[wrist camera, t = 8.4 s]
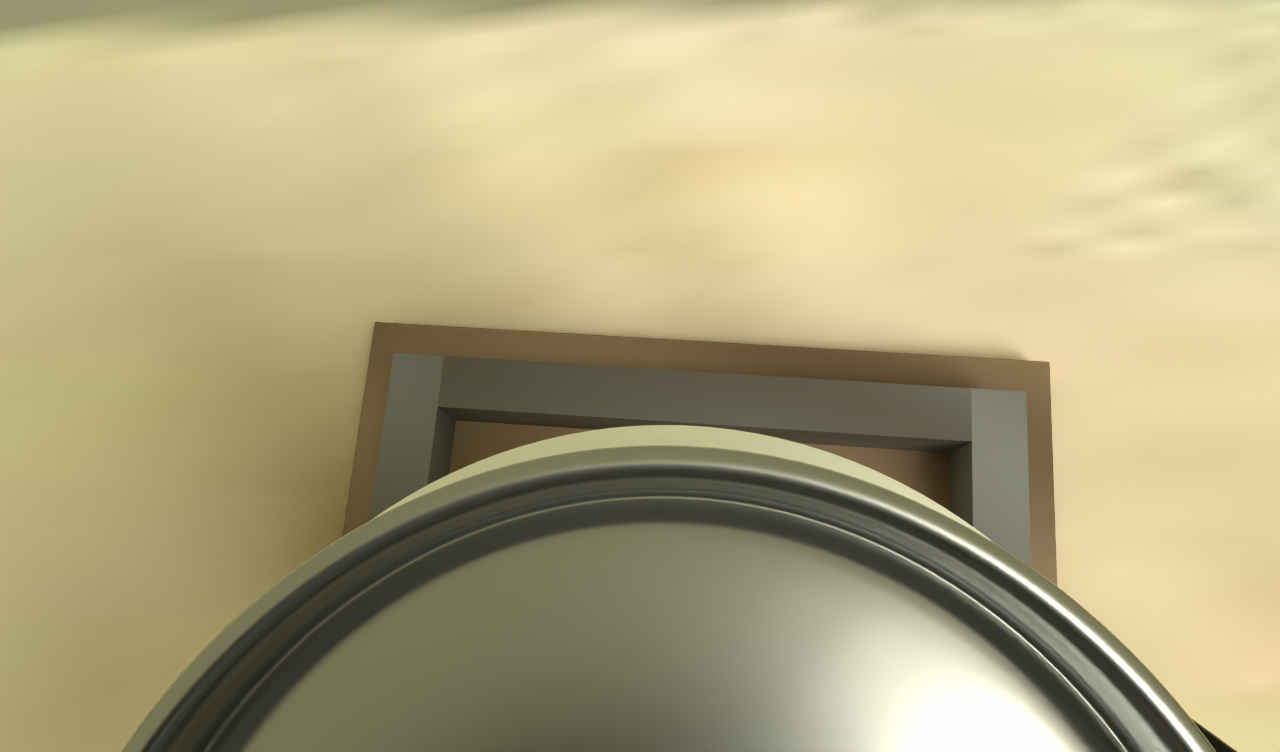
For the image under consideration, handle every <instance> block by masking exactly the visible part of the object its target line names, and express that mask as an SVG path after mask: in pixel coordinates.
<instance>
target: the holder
mask: <svg viewBox="0 0 1280 752" xmlns="http://www.w3.org/2000/svg"><path fill="white" fill-rule="evenodd" d="M645 425H687V426H703V427H714V428H723V429H732V430H739V431H745V432H751V433H757V434H762V435H767V436H771V437H776V438H781V439H785V440H788V441H792V442H796V443H800V444H804V445H807V446H810V447H814V448H817V449H820V450H823V451H826V452H829V453H832V454H835V455H838V456H840V457H843V458H846V459H849V460H851V461H854V462H856V463H858V464H861V465H863V466H866V467H868V468H870V469H873V470H875V471H877V472H879V473H881V474H884V475H886V476H888V477H890V478H892V479H894V480H896V481H898V482H900V483H902V484H904V485H906V486H908V487H910V488H911V489H913V490H915V491H917V492H919V493H921V494H922V495H924V496H926V497H928V498H929V499H931V500H933V501H934V502H936V503H938V504H939V505H941V506H943V507H944V508H946V509H947V510H949V511H950V512H952V513H953V514H955V515H956V516H958V517H959V518H961V519H962V520H964V521H965V522H967V523H968V524H970V525H971V526H972V527H974V528H975V529H976V530H978V531H979V532H981V533H982V534H983V535H985V536H986V537H987V538H989V539H990V540H991V541H992V542H994V543H995V544H997V545H999V546H1000V547H1002V548H1003V549H1005V550H1006V551H1008V552H1009V553H1011V554H1012V555H1014V556H1015V557H1017V558H1018V559H1020V560H1021V561H1023V562H1024V563H1026V564H1027V565H1029V566H1030V567H1031V568H1033V569H1034V570H1035V571H1037V572H1038V573H1040V574H1041V575H1042V576H1044V577H1045V578H1047V579H1048V580H1049V581H1051V582H1052V583H1053V584H1055V585H1056V586H1057V568H1056V539H1055V510H1054V481H1053V452H1052V423H1051V394H1050V365H1049V362H1040V361H1023V360H1007V359H990V358H973V357H956V356H939V355H922V354H905V353H888V352H871V351H854V350H838V349H821V348H804V347H787V346H770V345H753V344H736V343H719V342H702V341H685V340H669V339H652V338H635V337H618V336H601V335H584V334H567V333H550V332H533V331H516V330H500V329H483V328H466V327H449V326H432V325H415V324H398V323H381V322H375V327H374V333H373V340H372V346H371V353H370V359H369V366H368V373H367V379H366V386H365V392H364V399H363V405H362V412H361V419H360V425H359V432H358V438H357V445H356V452H355V458H354V465H353V471H352V478H351V484H350V491H349V498H348V504H347V511H346V517H345V524H344V530H343V536H345V535H346V534H348V533H349V532H351V531H353V530H354V529H356V528H358V527H360V526H362V525H363V524H365V523H367V522H369V521H370V520H372V519H373V518H375V517H376V516H378V515H379V514H381V513H382V512H383V511H385V510H386V509H388V508H390V507H391V506H393V505H394V504H396V503H398V502H399V501H401V500H402V499H404V498H406V497H407V496H409V495H411V494H412V493H414V492H416V491H418V490H420V489H421V488H423V487H425V486H427V485H429V484H430V483H432V482H434V481H436V480H438V479H440V478H442V477H444V476H446V475H448V474H450V473H453V472H455V471H457V470H459V469H462V468H464V467H466V466H468V465H471V464H473V463H476V462H478V461H481V460H483V459H486V458H488V457H491V456H494V455H496V454H499V453H502V452H505V451H508V450H511V449H514V448H517V447H520V446H524V445H528V444H531V443H535V442H538V441H542V440H546V439H550V438H555V437H559V436H564V435H569V434H574V433H580V432H585V431H591V430H599V429H607V428H615V427H628V426H645Z"/></svg>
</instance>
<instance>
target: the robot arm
mask: <svg viewBox="0 0 1280 752" xmlns="http://www.w3.org/2000/svg"><path fill="white" fill-rule="evenodd" d="M1192 720H1193V719H1192ZM1193 722H1194V723H1195V724H1196V725H1197V727H1198V728H1199V729H1200V731H1201V732H1202V733H1203V735H1204V736H1205V737H1206V739H1207V740H1208V741H1209V743H1210V744H1211V745H1212V747H1213V748H1214V749H1215V751H1216V752H1237V751H1236V750H1234V749H1233V748H1232V747H1230V746H1229V745H1227V744H1226V743H1225V742H1223V741H1222V740H1220V739H1219V738H1218V737H1216V736H1215V735H1214V734H1212V733H1211V732H1209V731H1208V730H1207V729H1205V728H1204V727H1203V726H1201V725H1200V724H1198V723H1197V722H1196V721H1194V720H1193Z"/></svg>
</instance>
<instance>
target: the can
mask: <svg viewBox="0 0 1280 752" xmlns="http://www.w3.org/2000/svg"><path fill="white" fill-rule="evenodd" d="M121 752H1216V751H1215V749H1214V748H1213V747H1212V745H1211V744H1210V743H1209V741H1208V740H1207V739H1206V737H1205V736H1204V735H1203V733H1202V732H1201V731H1200V729H1199V728H1198V727H1197V725H1196V724H1195V723H1194V722H1193V720H1192V719H1191V718H1190V717H1189V716H1188V714H1187V713H1186V712H1185V711H1184V709H1183V708H1182V707H1181V706H1180V705H1179V703H1178V702H1177V701H1176V700H1175V698H1174V697H1173V696H1172V695H1171V694H1170V693H1169V692H1168V691H1167V690H1166V688H1165V687H1164V686H1163V685H1162V684H1161V683H1160V682H1159V681H1158V679H1157V678H1156V677H1155V676H1154V675H1153V674H1152V673H1151V672H1150V671H1149V670H1148V669H1147V668H1146V666H1145V665H1144V664H1143V663H1142V662H1141V661H1140V660H1139V659H1138V658H1137V657H1136V656H1135V655H1134V654H1133V653H1132V652H1131V651H1130V650H1129V649H1128V648H1127V647H1126V646H1125V645H1124V644H1123V643H1122V642H1121V641H1120V640H1119V639H1118V638H1116V637H1115V636H1114V635H1113V634H1112V633H1111V632H1110V631H1109V630H1108V629H1107V628H1106V627H1105V626H1104V625H1103V624H1102V623H1100V622H1099V621H1098V620H1097V619H1096V618H1095V617H1093V616H1092V615H1091V614H1090V613H1089V612H1088V611H1087V610H1085V609H1084V608H1083V607H1082V606H1081V605H1080V604H1078V603H1077V602H1076V601H1075V600H1073V599H1072V598H1071V597H1070V596H1068V595H1067V594H1066V593H1065V592H1063V591H1062V590H1061V589H1060V588H1058V587H1057V586H1056V585H1055V584H1053V583H1052V582H1051V581H1049V580H1048V579H1047V578H1045V577H1044V576H1042V575H1041V574H1040V573H1038V572H1037V571H1035V570H1034V569H1033V568H1031V567H1030V566H1029V565H1027V564H1026V563H1024V562H1023V561H1021V560H1020V559H1018V558H1017V557H1015V556H1014V555H1012V554H1011V553H1009V552H1008V551H1006V550H1005V549H1003V548H1002V547H1000V546H999V545H997V544H995V543H994V542H992V541H991V540H990V539H989V538H987V537H986V536H985V535H983V534H982V533H981V532H979V531H978V530H976V529H975V528H974V527H972V526H971V525H970V524H968V523H967V522H965V521H964V520H962V519H961V518H959V517H958V516H956V515H955V514H953V513H952V512H950V511H949V510H947V509H946V508H944V507H943V506H941V505H939V504H938V503H936V502H934V501H933V500H931V499H929V498H928V497H926V496H924V495H922V494H921V493H919V492H917V491H915V490H913V489H911V488H910V487H908V486H906V485H904V484H902V483H900V482H898V481H896V480H894V479H892V478H890V477H888V476H886V475H884V474H881V473H879V472H877V471H875V470H873V469H870V468H868V467H866V466H863V465H861V464H858V463H856V462H854V461H851V460H849V459H846V458H843V457H840V456H838V455H835V454H832V453H829V452H826V451H823V450H820V449H817V448H814V447H810V446H807V445H804V444H800V443H796V442H792V441H788V440H785V439H781V438H776V437H771V436H767V435H762V434H757V433H751V432H745V431H739V430H732V429H723V428H714V427H703V426H687V425H645V426H628V427H615V428H607V429H599V430H591V431H585V432H580V433H574V434H569V435H564V436H559V437H555V438H550V439H546V440H542V441H538V442H535V443H531V444H528V445H524V446H520V447H517V448H514V449H511V450H508V451H505V452H502V453H499V454H496V455H494V456H491V457H488V458H486V459H483V460H481V461H478V462H476V463H473V464H471V465H468V466H466V467H464V468H462V469H459V470H457V471H455V472H453V473H450V474H448V475H446V476H444V477H442V478H440V479H438V480H436V481H434V482H432V483H430V484H429V485H427V486H425V487H423V488H421V489H420V490H418V491H416V492H414V493H412V494H411V495H409V496H407V497H406V498H404V499H402V500H401V501H399V502H398V503H396V504H394V505H393V506H391V507H390V508H388V509H386V510H385V511H383V512H382V513H381V514H379V515H378V516H376V517H375V518H373V519H372V520H370V521H369V522H367V523H365V524H363V525H362V526H360V527H358V528H356V529H354V530H353V531H351V532H349V533H348V534H346V535H345V536H343V537H341V538H340V539H338V540H336V541H335V542H333V543H332V544H330V545H328V546H327V547H325V548H324V549H322V550H321V551H319V552H318V553H317V554H315V555H314V556H312V557H311V558H309V559H308V560H306V561H305V562H303V563H302V564H301V565H299V566H298V567H297V568H295V569H294V570H293V571H291V572H290V573H289V574H287V575H286V576H285V577H283V578H282V579H281V580H279V581H278V582H277V583H275V584H274V585H273V586H272V587H271V588H269V589H268V590H267V591H266V592H265V593H263V594H262V595H261V596H260V597H259V598H257V599H256V600H255V601H254V602H253V603H251V604H250V605H249V606H248V607H247V608H246V609H245V610H244V611H243V612H241V613H240V614H239V615H238V616H237V617H236V618H235V619H234V620H233V621H232V622H230V623H229V624H228V625H227V626H226V627H225V628H224V629H223V630H222V631H221V632H220V633H219V634H218V635H217V636H216V637H215V638H214V639H213V640H212V641H211V642H210V643H209V644H208V645H207V646H206V647H205V648H204V649H203V650H202V651H201V652H200V653H199V655H198V656H197V657H196V658H195V659H194V660H193V661H192V662H191V663H190V664H189V665H188V667H187V668H186V669H185V670H184V671H183V672H182V673H181V674H180V676H179V677H178V678H177V679H176V680H175V681H174V683H173V684H172V685H171V686H170V687H169V689H168V690H167V691H166V692H165V693H164V694H163V696H162V697H161V698H160V699H159V701H158V702H157V703H156V705H155V706H154V707H153V709H152V710H151V711H150V712H149V714H148V715H147V716H146V718H145V719H144V720H143V721H142V723H141V724H140V726H139V727H138V728H137V730H136V731H135V733H134V734H133V735H132V737H131V738H130V740H129V741H128V742H127V744H126V745H125V747H124V748H123V750H122V751H121Z"/></svg>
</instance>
